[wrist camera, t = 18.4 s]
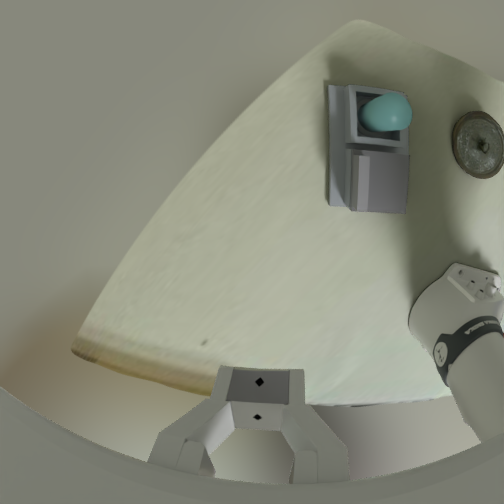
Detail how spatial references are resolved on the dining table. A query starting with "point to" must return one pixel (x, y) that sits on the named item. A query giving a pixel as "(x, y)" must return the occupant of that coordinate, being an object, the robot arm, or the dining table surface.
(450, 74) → the dining table surface
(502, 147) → the lid
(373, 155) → the slide lid
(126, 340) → the dining table surface
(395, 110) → the jaw peg
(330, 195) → the housing
